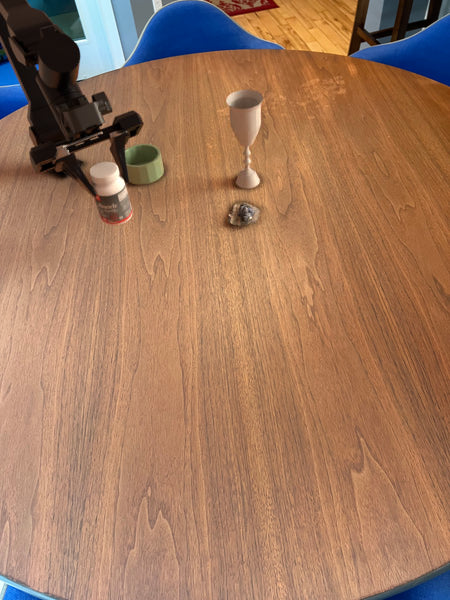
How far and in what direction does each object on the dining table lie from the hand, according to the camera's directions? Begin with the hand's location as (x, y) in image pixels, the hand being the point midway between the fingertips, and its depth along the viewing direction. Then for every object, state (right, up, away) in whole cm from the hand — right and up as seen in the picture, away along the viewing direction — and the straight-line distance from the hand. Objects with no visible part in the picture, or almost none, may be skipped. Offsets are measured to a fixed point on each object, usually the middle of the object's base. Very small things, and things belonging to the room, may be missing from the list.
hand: (111, 189), depth 80 cm
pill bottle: (0, -4, +6) cm, 7 cm away
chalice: (+24, +7, +22) cm, 33 cm away
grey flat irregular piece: (+22, -2, +15) cm, 27 cm away
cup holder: (+1, +10, +26) cm, 28 cm away
